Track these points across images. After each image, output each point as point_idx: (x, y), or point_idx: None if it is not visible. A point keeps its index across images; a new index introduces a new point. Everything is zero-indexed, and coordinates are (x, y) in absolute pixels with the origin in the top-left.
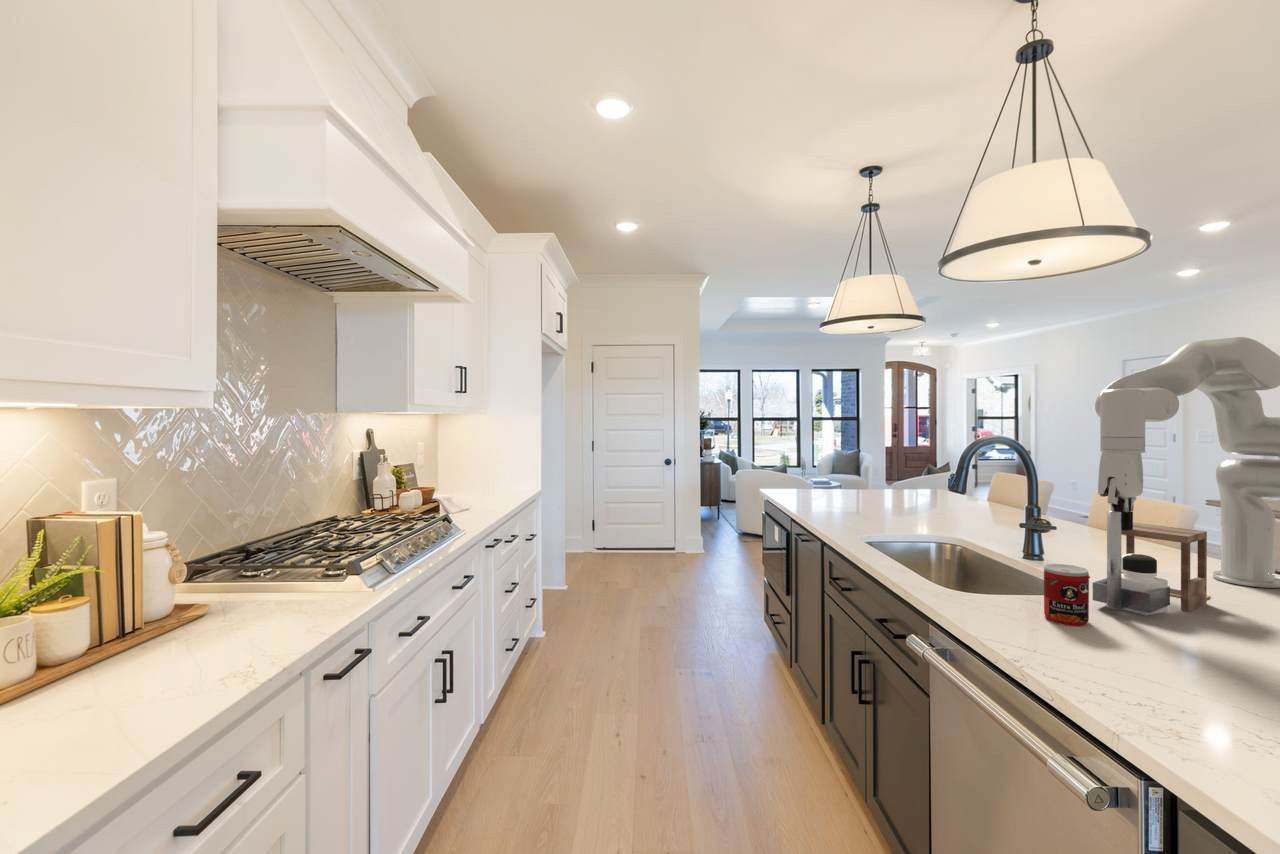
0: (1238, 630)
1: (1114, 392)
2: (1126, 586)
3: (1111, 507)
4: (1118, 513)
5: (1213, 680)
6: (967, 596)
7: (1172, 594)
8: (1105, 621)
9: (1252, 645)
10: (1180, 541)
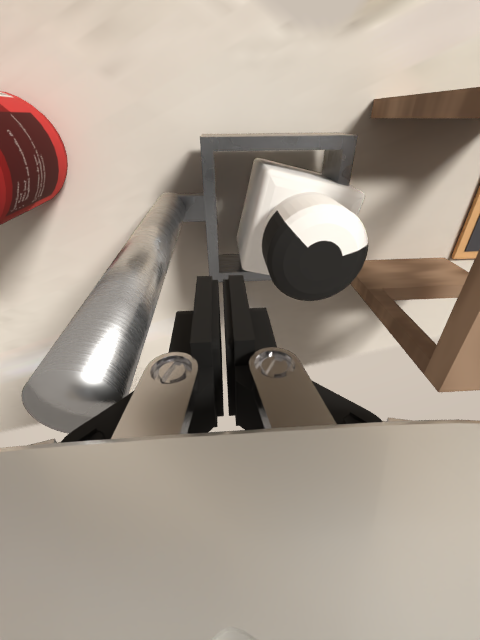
0: (280, 345)
1: None
2: (250, 215)
3: (143, 379)
4: (65, 423)
5: (9, 393)
6: None
7: (474, 208)
8: (110, 210)
9: None
10: (432, 361)
